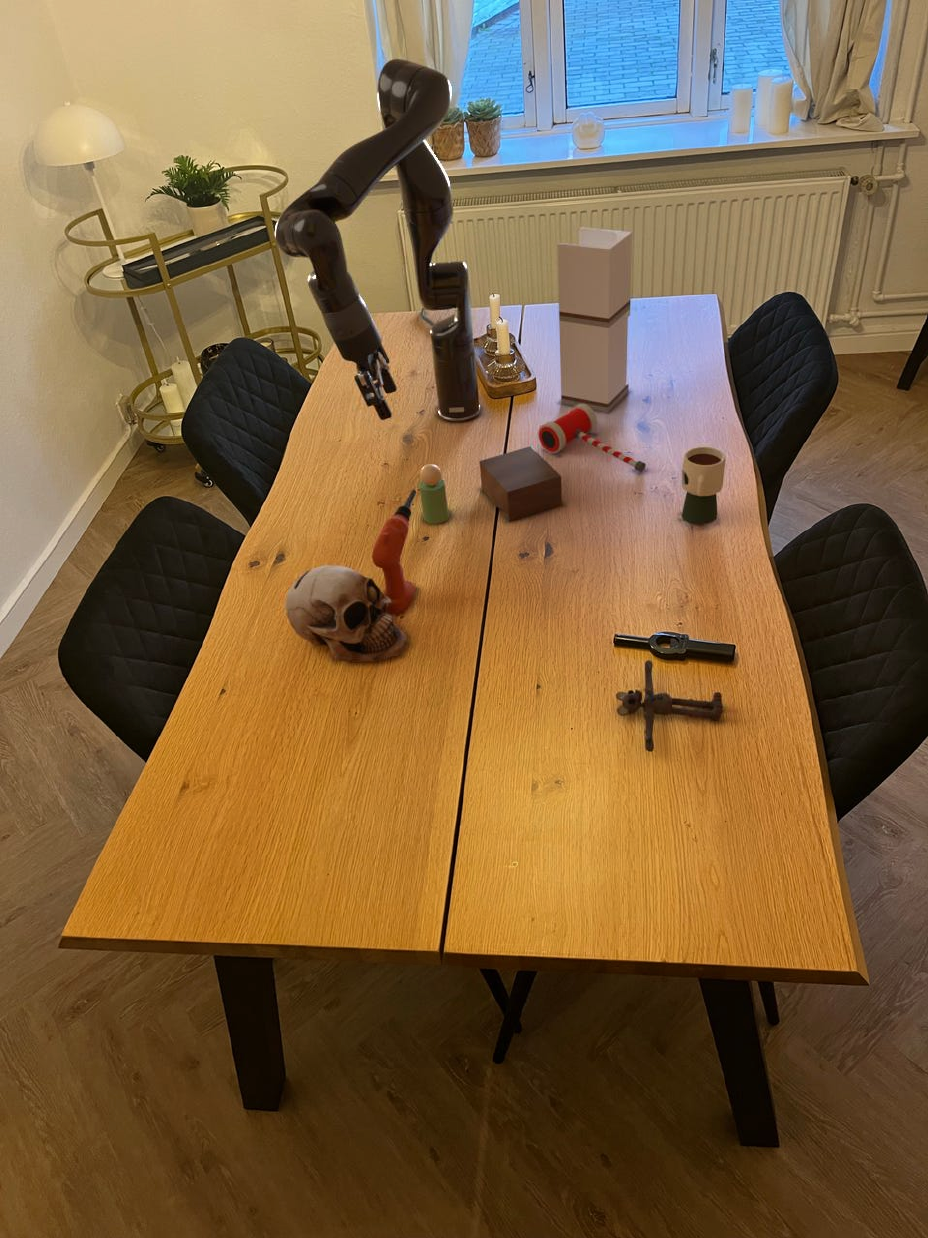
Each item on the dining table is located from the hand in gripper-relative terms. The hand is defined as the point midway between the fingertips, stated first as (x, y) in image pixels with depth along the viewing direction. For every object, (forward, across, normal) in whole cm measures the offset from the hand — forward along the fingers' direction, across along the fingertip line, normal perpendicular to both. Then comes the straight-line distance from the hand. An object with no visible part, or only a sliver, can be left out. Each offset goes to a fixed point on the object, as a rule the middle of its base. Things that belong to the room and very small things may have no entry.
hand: (389, 404), depth 166 cm
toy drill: (+20, -27, +2) cm, 33 cm away
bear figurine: (+27, -59, -39) cm, 75 cm away
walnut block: (+27, -1, -16) cm, 31 cm away
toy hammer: (+32, +16, -30) cm, 47 cm away
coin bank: (+16, -40, +9) cm, 45 cm away
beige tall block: (+35, +39, -31) cm, 61 cm away
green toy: (+22, -6, -1) cm, 23 cm away
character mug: (+34, -11, -48) cm, 60 cm away
